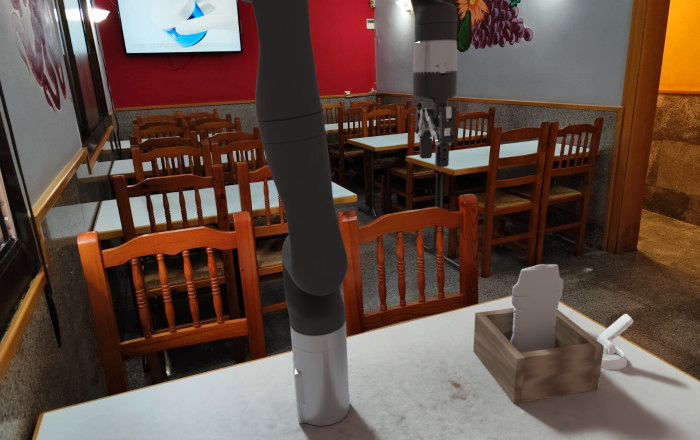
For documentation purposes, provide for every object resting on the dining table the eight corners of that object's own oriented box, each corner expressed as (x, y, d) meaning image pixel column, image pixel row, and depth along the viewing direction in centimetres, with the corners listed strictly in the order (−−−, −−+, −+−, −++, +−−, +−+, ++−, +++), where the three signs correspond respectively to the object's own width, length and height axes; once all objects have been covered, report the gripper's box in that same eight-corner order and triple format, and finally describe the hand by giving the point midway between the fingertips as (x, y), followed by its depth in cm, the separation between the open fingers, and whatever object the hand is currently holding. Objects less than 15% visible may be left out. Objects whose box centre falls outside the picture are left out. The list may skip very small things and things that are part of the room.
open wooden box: (513, 403, 84) (516, 358, 81) (473, 351, 99) (475, 312, 96) (597, 389, 86) (603, 346, 83) (546, 341, 102) (549, 303, 99)
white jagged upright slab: (547, 358, 96) (557, 256, 89) (561, 370, 92) (573, 265, 85) (500, 368, 93) (507, 264, 87) (512, 380, 89) (520, 273, 83)
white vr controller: (665, 345, 90) (642, 332, 87) (617, 385, 94) (594, 373, 91) (640, 318, 96) (618, 305, 94) (596, 357, 100) (574, 345, 98)
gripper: (402, 70, 88) (402, 157, 93) (428, 70, 75) (426, 171, 80) (440, 68, 90) (439, 154, 94) (472, 68, 76) (468, 168, 81)
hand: (433, 162), depth 87 cm, fingers open, 8 cm apart
